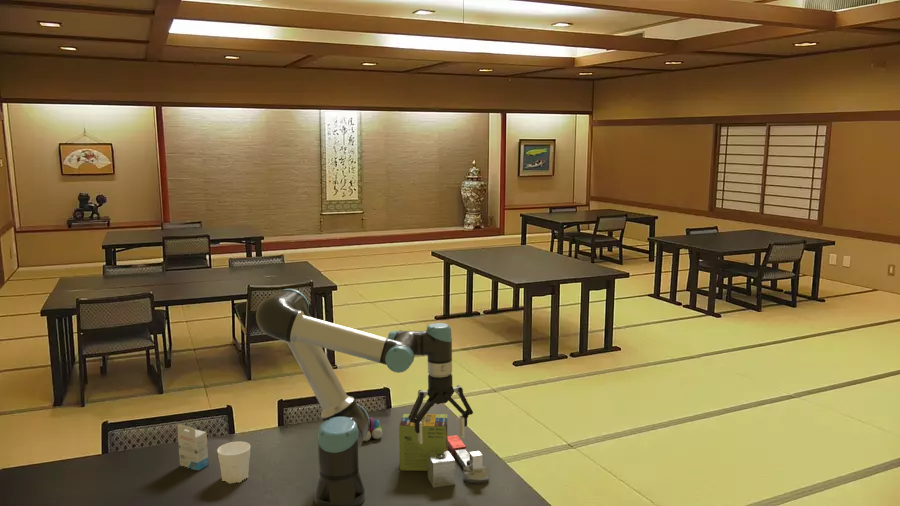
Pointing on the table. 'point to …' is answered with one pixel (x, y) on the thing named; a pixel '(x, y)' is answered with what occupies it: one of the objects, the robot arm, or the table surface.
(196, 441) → the ink box
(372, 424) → the rainbow finned toy
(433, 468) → the metal cube with knob
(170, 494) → the table surface
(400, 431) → the protein box
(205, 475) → the table surface
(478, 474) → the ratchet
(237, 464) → the cup
